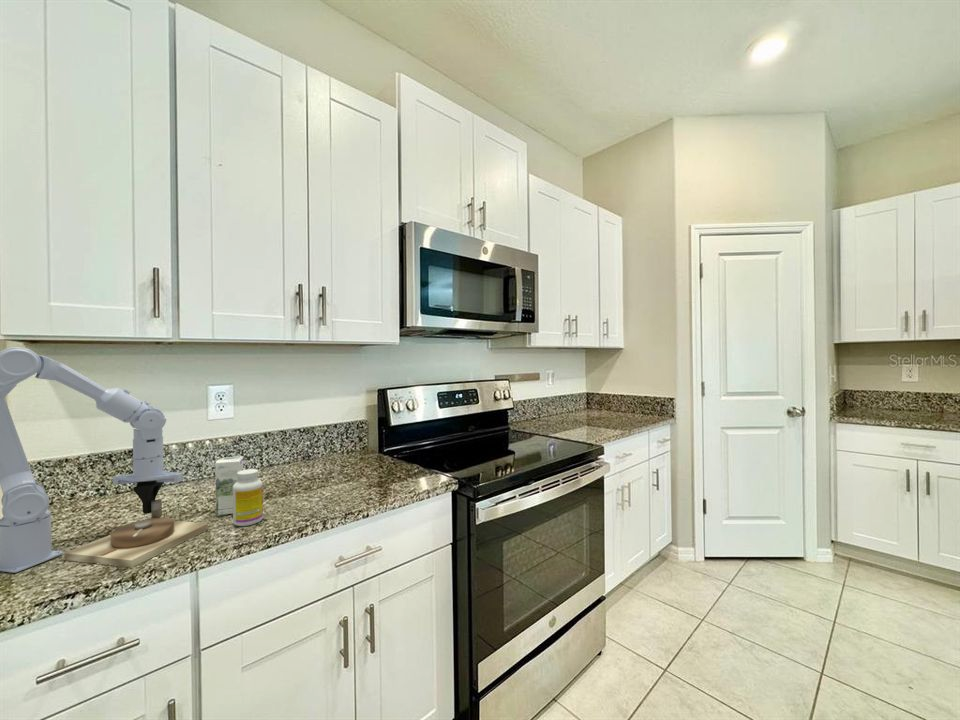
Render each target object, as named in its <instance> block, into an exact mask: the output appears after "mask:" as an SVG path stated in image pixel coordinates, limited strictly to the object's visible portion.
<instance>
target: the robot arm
mask: <svg viewBox="0 0 960 720" xmlns="http://www.w3.org/2000/svg"><path fill="white" fill-rule="evenodd" d="M34 375H35V376H34ZM32 376H34V377H35V378H36V379H39V380H46V381H48V380H50V381H57V382H58V383H60V384H62V385H64V386H66V387H68V388H70V389H73V390H74V391H77V392H78V393H80V394H83V395H85V396H87V397H89V398H91V399H93V400H94V401H95V406H96V409H97V410H100V411H101V412H103V413H105V414H107V415H109V416H111V417H113V418H115V419H117V420H119V421H121V422H123V423H124V424H125V423H127V424H128V423H129V425H130V426H131V427H132V428H133V439H132V464H133V465H132V468H133V469H132V472H133V473H127V474H125V473H124V474H118V475H115V476H112V485H113V486H119V485H122V484H123V485H125V484H127V485H128V484H135V486H132V487H133V488H132V490H133V492H134V493H135V494H136V495H137V496H138V498H139V500H140V501H141V504H142V513H143V515H145V514H147V515H148V514H151V501H153V500H156V498H157V496H158V493H159V491H160V490H161V488H162V486H163V485H164V483H180V482H182V481H183V480H184V472H180V471H179V472H177V471H176V472H175V471H164V470H165V469H164V437H163V428H164V427H165V425H166V423H167V418H166V417H165V415H164V413H163V412H162V411H161V410H160V409H157V408H156V407H155V408H154V407H153V406H151V403H150V402H148V401H147V400H145V401H142V400H141V399H139V398H137V397H135V396H133V395H131V394H130V393H131V391H130V390H128V389H127V388H123V389H122V388H121V389H120V388H119V387H113V388H112V387H111V388H105V387H104V386H102V385H100V384H99V383H97V382H95V381H93V380H92V379H90V378H88V377H87V376H85V375H83V373H82V374H81V373H80V372H78V371H76V370H75V369H73V368H71V367H70V366H68V365H66V364H64V363H62V362H60V361H57V360H56V359H55V360H54V359H52V358H50V357H47V356H44V355H41V354H39V355H38V354H37V353H36V351H35V352H34V351H33V350H31V349H29V348H26V347H20V346H19V347H18V346H17V347H16V346H15V347H9V348H5V349H3V350H0V489H1V492H2V496H1V505H2V508H1V514H2V517H1V518H0V572H6V573H13V574H15V573H18V572H22V571H23V570H26V569H30V568H31V567H34V566H36V565H40V564H41V563H44V562H46V561H49V560H51V559H54V558H57V557H59V556H62V555H63V554H64V551H61V550H53V549H52V548H53V547H52V546H53V545H52V511H51V510H49V506H50V502H51V501H50V498H49V496H48V495H47V490H46V488H45V487H44V486H43V485H42V484H40V483H39V482H37V480H36V479H35V476H34V474H33V472H32V469H31V467H30V463H29V461H28V459H27V458H28V457H27V456H26V453H25V450H24V448H23V445H22V442H21V439H20V437H19V436H20V435H19V433H18V431H17V428H16V425H15V422H14V420H13V417H12V415H11V412H10V409H9V406H8V404H7V402H6V396H7V395H8V394H9V393H11V392H12V390H14V388H16V387H17V385H18V384H20V383H21V382H24V381H25V380H27V379H29V378H30V377H32Z"/></svg>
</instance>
